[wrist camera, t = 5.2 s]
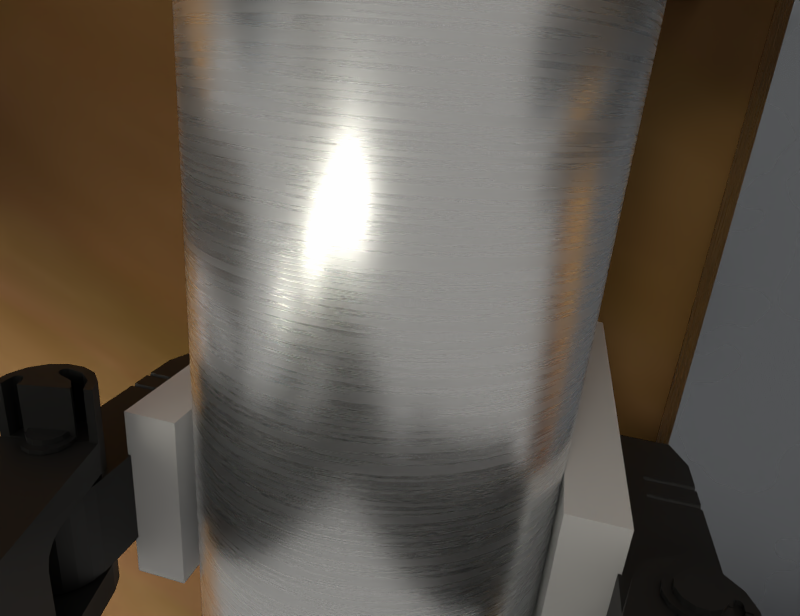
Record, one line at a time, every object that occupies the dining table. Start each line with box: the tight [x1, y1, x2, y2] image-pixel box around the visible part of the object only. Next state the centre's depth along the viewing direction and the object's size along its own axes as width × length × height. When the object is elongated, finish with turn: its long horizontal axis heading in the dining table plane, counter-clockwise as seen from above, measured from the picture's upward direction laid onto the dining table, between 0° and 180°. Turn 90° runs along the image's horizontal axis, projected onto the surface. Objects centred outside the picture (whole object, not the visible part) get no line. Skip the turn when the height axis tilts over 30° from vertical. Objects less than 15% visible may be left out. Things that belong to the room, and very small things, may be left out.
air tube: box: [172, 0, 667, 616], centre depth 9 cm, size 28×5×5 cm, turn 175°
